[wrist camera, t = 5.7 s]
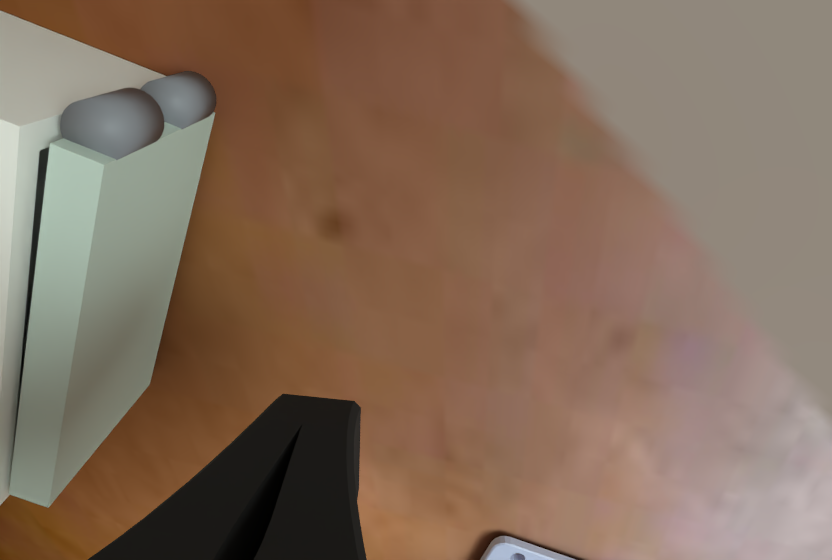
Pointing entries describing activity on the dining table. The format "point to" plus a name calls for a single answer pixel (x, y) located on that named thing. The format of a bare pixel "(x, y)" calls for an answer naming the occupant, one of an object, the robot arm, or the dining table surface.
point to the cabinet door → (105, 269)
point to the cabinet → (35, 174)
